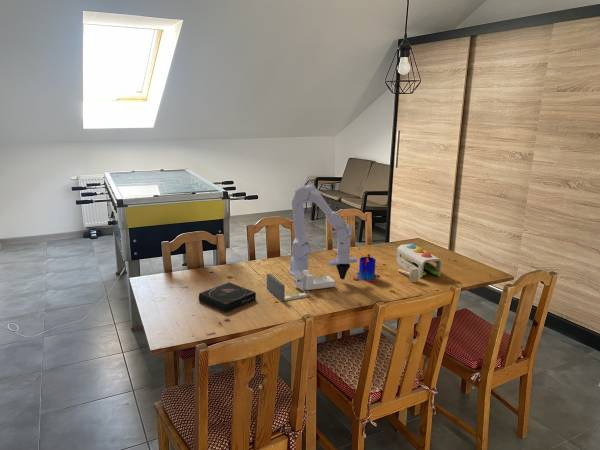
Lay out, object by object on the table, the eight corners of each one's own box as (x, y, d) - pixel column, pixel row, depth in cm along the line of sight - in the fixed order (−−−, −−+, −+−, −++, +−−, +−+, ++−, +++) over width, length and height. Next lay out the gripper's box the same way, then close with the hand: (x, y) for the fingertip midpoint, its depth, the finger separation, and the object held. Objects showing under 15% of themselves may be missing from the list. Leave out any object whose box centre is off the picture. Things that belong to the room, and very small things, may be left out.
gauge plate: (290, 284, 207) (290, 270, 205) (296, 283, 209) (297, 269, 207) (302, 294, 197) (302, 279, 195) (308, 292, 199) (309, 277, 197)
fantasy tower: (376, 284, 214) (378, 259, 211) (351, 280, 218) (353, 256, 215) (380, 275, 225) (382, 252, 222) (357, 272, 228) (358, 249, 225)
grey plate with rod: (266, 288, 205) (266, 274, 204) (292, 284, 211) (293, 269, 209) (281, 301, 193) (281, 285, 191) (308, 296, 198) (308, 281, 197)
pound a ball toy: (383, 264, 242) (385, 242, 239) (414, 261, 247) (416, 239, 244) (411, 284, 215) (413, 259, 212) (445, 280, 221) (448, 256, 218)
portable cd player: (228, 290, 204) (228, 282, 203) (255, 301, 193) (255, 292, 192) (198, 301, 192) (198, 292, 191) (226, 313, 181) (225, 304, 180)
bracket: (307, 291, 204) (308, 275, 202) (302, 286, 210) (302, 270, 208) (334, 288, 208) (335, 272, 206) (328, 282, 215) (328, 267, 213)
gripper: (334, 255, 204) (333, 283, 208) (361, 251, 211) (359, 279, 214) (326, 250, 210) (325, 278, 214) (352, 247, 217) (351, 274, 220)
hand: (342, 278), depth 214 cm, fingers closed
